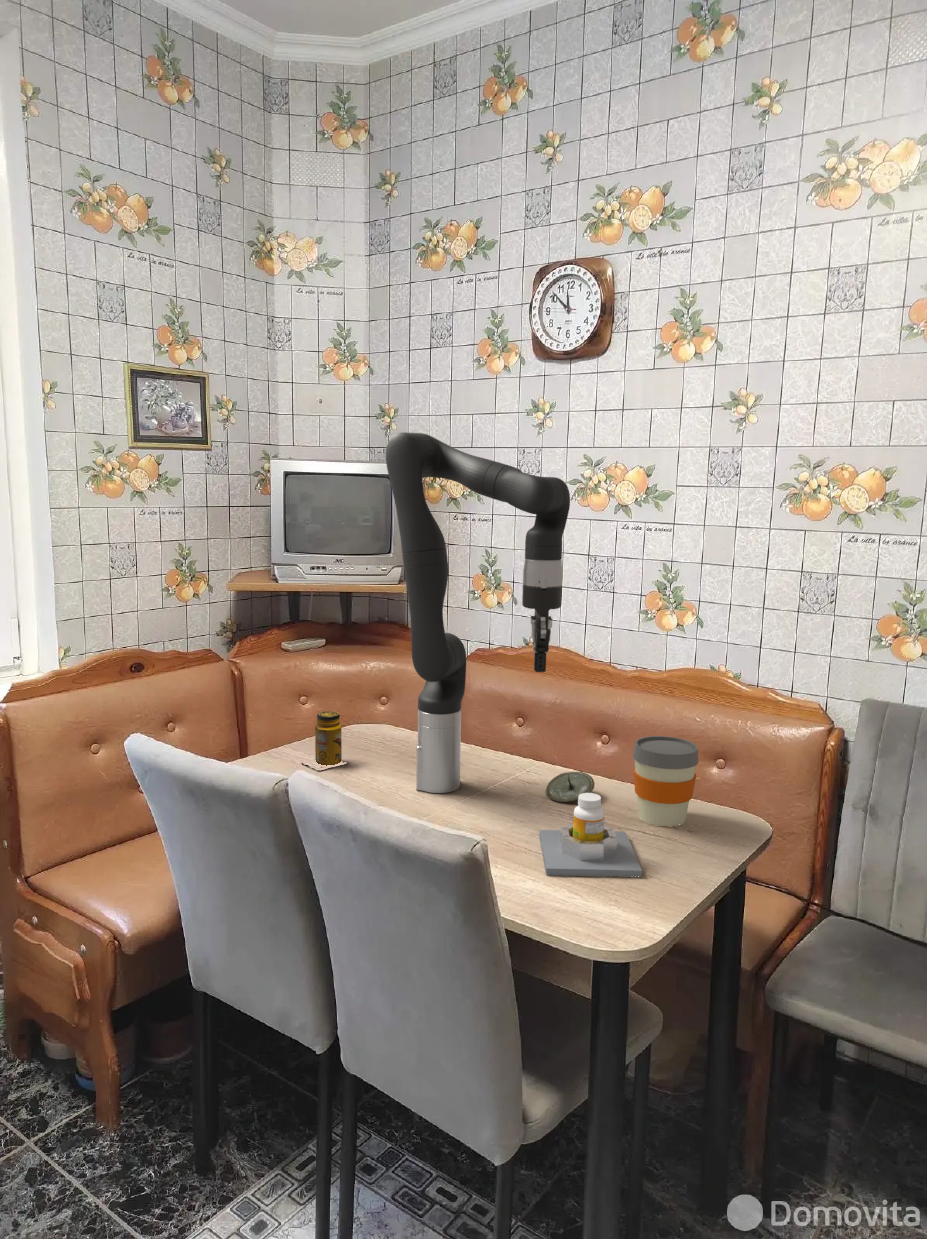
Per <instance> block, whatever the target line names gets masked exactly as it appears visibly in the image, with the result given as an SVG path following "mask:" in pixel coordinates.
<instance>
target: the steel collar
mask: <svg viewBox="0 0 927 1239" xmlns="http://www.w3.org/2000/svg"><path fill="white" fill-rule="evenodd" d="M560 830H561V835H560V844H561V849H562V853H563V854H566V855H568V856H570V857H573V858H575V859H578V860H580V861H604V860H606V859H608V858H610V857H612V856H614V855H616V854H617V837H616V834H615V829H614V828H613V827H612V828H611V827H610V826H609V827H608V826H607V825H604V839H603V840H602V841H600V842H598V841H581V840H579V839H576V838H574V837H573V822H572V823H570V824H567V825H565V826H563V827H561V828H560Z"/></svg>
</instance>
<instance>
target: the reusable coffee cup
mask: <svg viewBox="0 0 927 1239" xmlns="http://www.w3.org/2000/svg"><path fill="white" fill-rule="evenodd" d="M632 757H633V759H634V768H633V771H632V772H633V784H634V792H635V794H636V795H637V796H636V797H637V806H638V807H637V808H638V817H640V818H639V819H640V820H641V821H642V822H644V823H646V824H648V825H651V824H654V825H653V826H655V825H658V826H657V827H661V826H675V827H677V826H676V825H679V824H682V825H683V824H685V823H686V820H687V819H686V818H687V813H688V809H689V804H690V801H691V800H692V799H693V795H694V789H695V784H696V780H697V775H696V773H695V772H696V767H697V765H698V764H699V747H698V746H697V744H696V743H694V742H692V741H690V740H687V739H684V738H680V737H675V736H674V737H673V736H664V735H652V736H651V735H650V736H643V737H640V738H637V739H636V740H635V741H634V746H633V753H632Z"/></svg>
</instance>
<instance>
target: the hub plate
mask: <svg viewBox="0 0 927 1239" xmlns="http://www.w3.org/2000/svg"><path fill="white" fill-rule="evenodd" d="M538 831H539V832H538V833H539V835H538V837H539V842H540V846H541V847H540V848H541V853H542V857H543V865H544V870H545V875H546V876H563V877H564V876H571V877H572V876H573V877H606V876H609V877H611V878H612V876H613V878H614V876H619V877H618V878H620V877H621V878H642V877H643V876H642V874H643V870H642V867H641V865H640V862H639V861H638V858H637V856H636V853H635V851H634V849H633V846H632V844H631V840H630V839H629V837H628V835H627V832H626V831H615V830H614V831H615V834H616V837H617V854H616V855H614V856H612V857H610V858H608V859H606V860H604V861H580V860H578V859H575V858H573V857H570V856H568V855H566V854H563V853H562V849H561V844H560V835H561V829H539V830H538ZM631 876H633V877H631ZM635 876H636V877H635ZM638 876H639V877H638ZM641 876H642V877H641Z"/></svg>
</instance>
